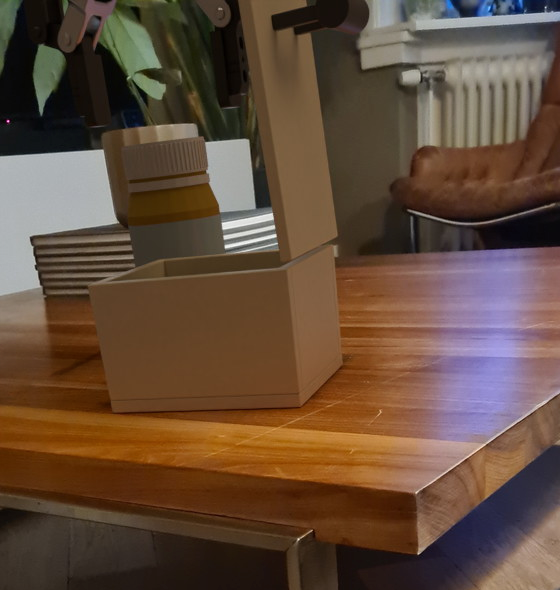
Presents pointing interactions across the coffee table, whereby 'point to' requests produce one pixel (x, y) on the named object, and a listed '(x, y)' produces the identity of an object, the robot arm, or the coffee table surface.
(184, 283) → the tan open box
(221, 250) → the bottle
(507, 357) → the coffee table surface
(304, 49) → the lid
